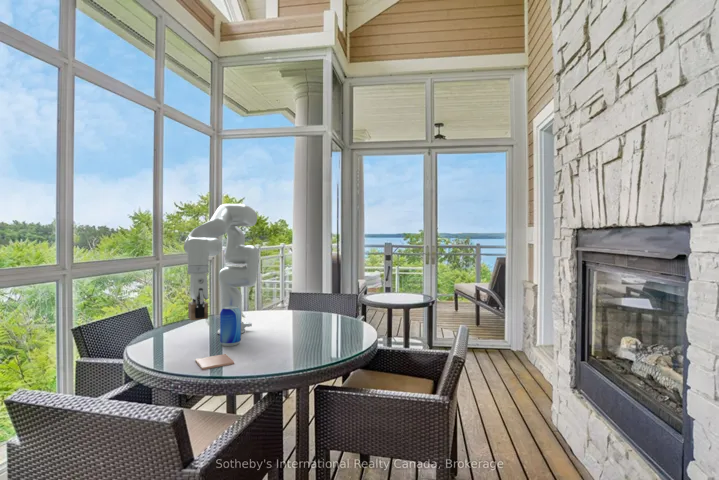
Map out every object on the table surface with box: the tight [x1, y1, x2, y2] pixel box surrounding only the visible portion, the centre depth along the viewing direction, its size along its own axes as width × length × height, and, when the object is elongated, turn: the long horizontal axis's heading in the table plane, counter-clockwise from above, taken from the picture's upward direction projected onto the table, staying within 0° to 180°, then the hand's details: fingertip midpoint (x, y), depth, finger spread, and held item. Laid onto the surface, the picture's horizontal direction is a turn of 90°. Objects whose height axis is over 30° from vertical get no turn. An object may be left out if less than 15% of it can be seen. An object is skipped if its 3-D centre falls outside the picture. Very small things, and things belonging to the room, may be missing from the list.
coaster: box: [195, 353, 235, 371], centre depth 141 cm, size 11×11×1 cm
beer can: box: [219, 306, 242, 347], centre depth 165 cm, size 8×8×16 cm
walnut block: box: [187, 300, 209, 321], centre depth 147 cm, size 6×6×6 cm
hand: (198, 315), depth 147 cm, fingers closed on walnut block, 6 cm apart
